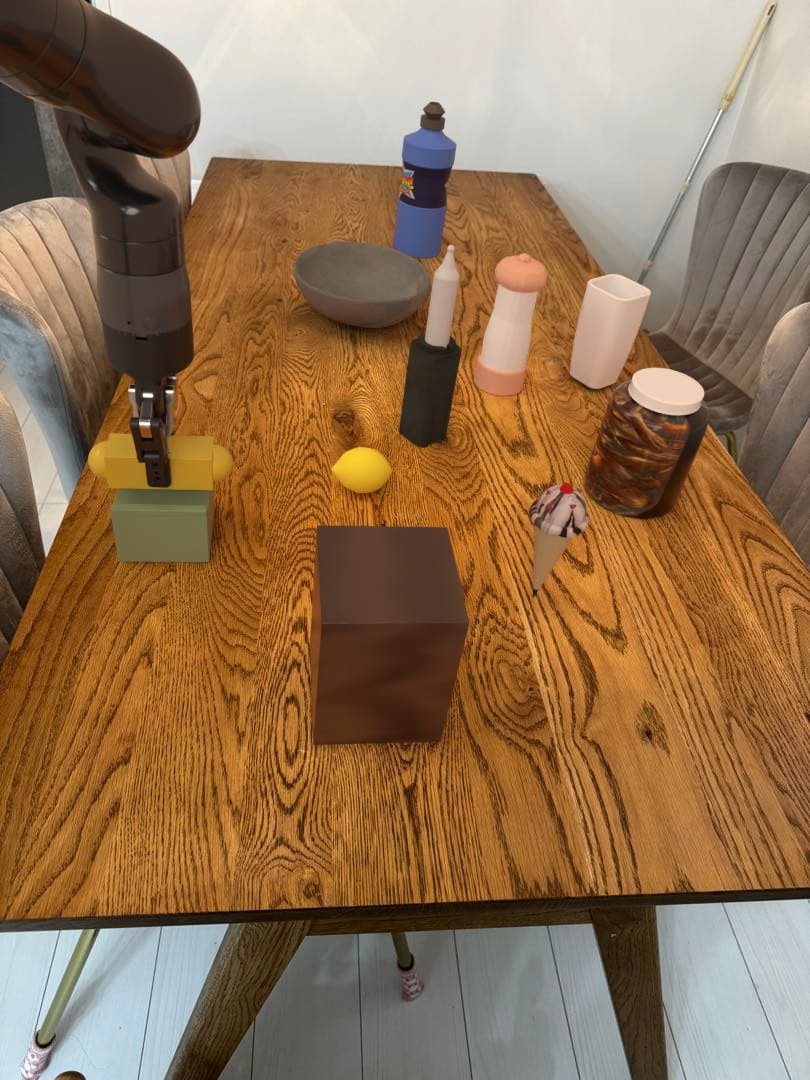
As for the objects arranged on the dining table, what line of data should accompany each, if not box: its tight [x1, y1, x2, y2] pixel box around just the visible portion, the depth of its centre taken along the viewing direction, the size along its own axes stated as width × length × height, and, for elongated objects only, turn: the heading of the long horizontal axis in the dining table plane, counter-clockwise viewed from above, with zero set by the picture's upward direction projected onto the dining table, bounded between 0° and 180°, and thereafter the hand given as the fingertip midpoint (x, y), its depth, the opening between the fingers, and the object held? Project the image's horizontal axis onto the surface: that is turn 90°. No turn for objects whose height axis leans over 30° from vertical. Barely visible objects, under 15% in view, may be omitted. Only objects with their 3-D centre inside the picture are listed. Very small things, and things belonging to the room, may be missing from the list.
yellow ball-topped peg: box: [87, 432, 234, 490], centre depth 80 cm, size 14×4×4 cm, turn 97°
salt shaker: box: [472, 252, 548, 397], centre depth 112 cm, size 7×7×19 cm
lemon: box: [331, 446, 393, 495], centre depth 94 cm, size 7×5×5 cm
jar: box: [583, 367, 711, 519], centre depth 97 cm, size 12×12×15 cm
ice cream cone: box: [528, 482, 590, 599], centre depth 80 cm, size 6×6×15 cm
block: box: [109, 488, 216, 563], centre depth 84 cm, size 9×9×7 cm
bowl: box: [292, 240, 431, 329], centre depth 127 cm, size 21×21×8 cm
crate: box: [309, 524, 470, 746], centre depth 69 cm, size 11×11×15 cm
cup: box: [569, 273, 652, 390], centre depth 118 cm, size 7×7×15 cm
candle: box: [398, 244, 462, 448], centre depth 98 cm, size 5×5×25 cm
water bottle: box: [392, 101, 457, 259], centre depth 146 cm, size 9×9×25 cm
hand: (162, 470), depth 81 cm, fingers closed on yellow ball-topped peg, 4 cm apart
